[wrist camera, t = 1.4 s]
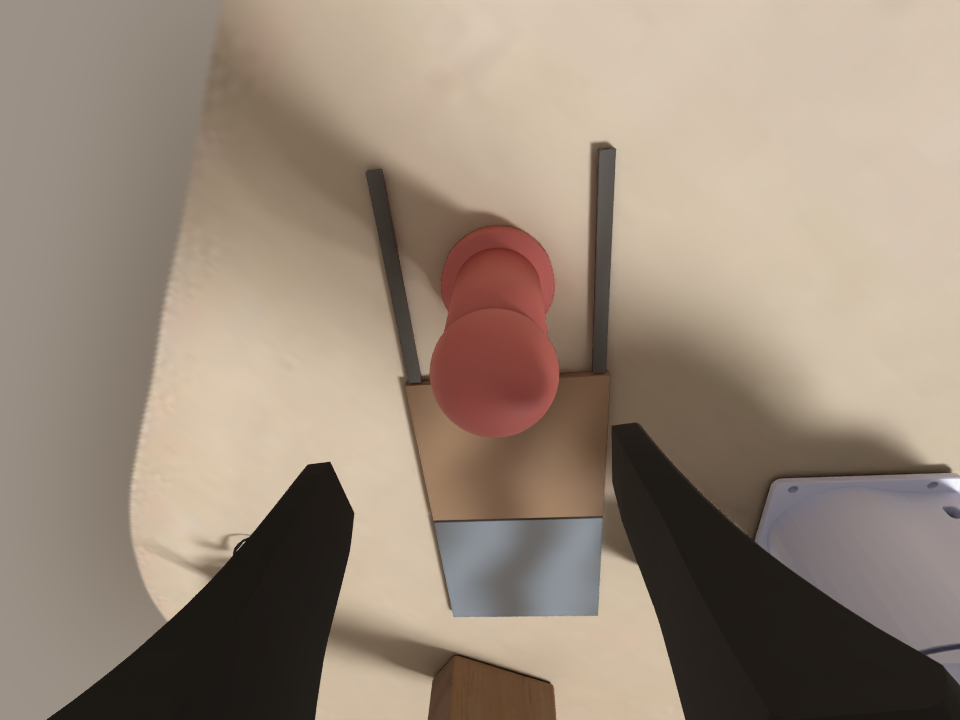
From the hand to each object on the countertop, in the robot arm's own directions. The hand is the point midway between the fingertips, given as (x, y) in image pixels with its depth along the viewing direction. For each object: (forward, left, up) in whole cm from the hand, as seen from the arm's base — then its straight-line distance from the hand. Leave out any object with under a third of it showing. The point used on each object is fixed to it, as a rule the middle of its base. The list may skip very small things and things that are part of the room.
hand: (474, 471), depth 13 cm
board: (0, +9, -11) cm, 15 cm away
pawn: (0, -1, -11) cm, 11 cm away
